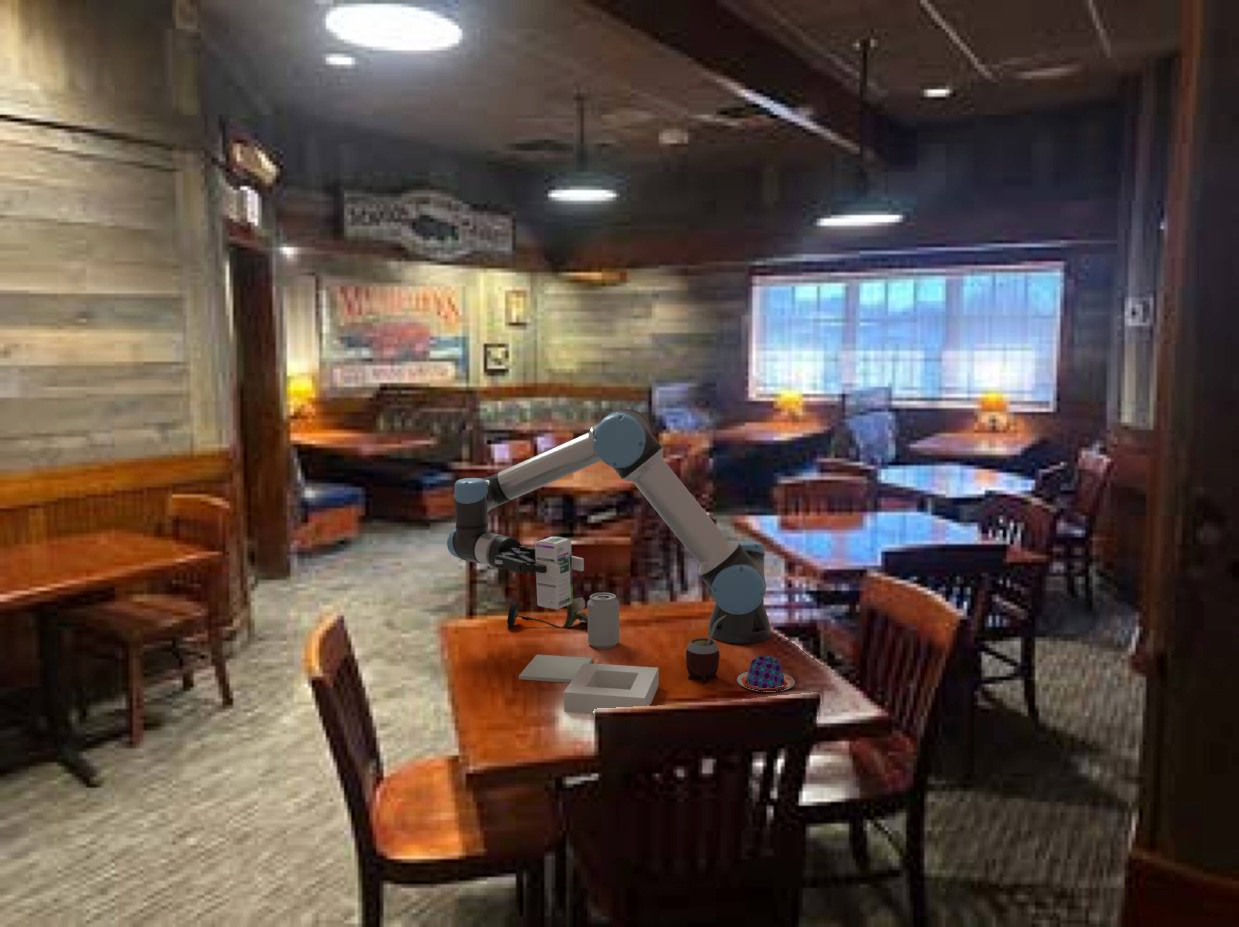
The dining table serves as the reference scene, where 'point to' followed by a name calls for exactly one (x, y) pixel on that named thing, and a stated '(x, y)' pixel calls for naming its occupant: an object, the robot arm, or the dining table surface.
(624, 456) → the robot arm
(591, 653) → the dining table surface
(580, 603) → the artificial flower
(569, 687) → the bore block
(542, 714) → the dining table surface
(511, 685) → the dining table surface
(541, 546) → the syrup box
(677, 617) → the dining table surface
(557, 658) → the sage tile
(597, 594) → the can
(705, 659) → the mate gourd
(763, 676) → the pudding
